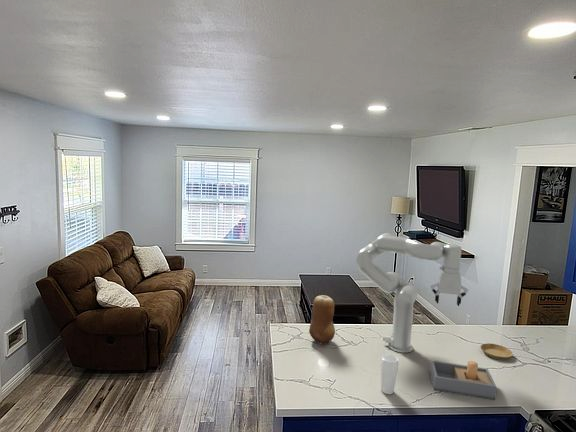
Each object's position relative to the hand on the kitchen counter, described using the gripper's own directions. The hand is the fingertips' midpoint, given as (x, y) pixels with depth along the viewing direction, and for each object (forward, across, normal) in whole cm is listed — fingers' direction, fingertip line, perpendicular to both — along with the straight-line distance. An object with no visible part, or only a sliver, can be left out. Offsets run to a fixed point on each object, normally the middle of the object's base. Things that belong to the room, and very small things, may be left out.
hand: (447, 303), depth 195 cm
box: (+28, +4, -24) cm, 38 cm away
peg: (+27, +8, -24) cm, 38 cm away
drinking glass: (+28, -27, -39) cm, 55 cm away
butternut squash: (+28, -61, -2) cm, 67 cm away
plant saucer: (+29, +28, +13) cm, 42 cm away
